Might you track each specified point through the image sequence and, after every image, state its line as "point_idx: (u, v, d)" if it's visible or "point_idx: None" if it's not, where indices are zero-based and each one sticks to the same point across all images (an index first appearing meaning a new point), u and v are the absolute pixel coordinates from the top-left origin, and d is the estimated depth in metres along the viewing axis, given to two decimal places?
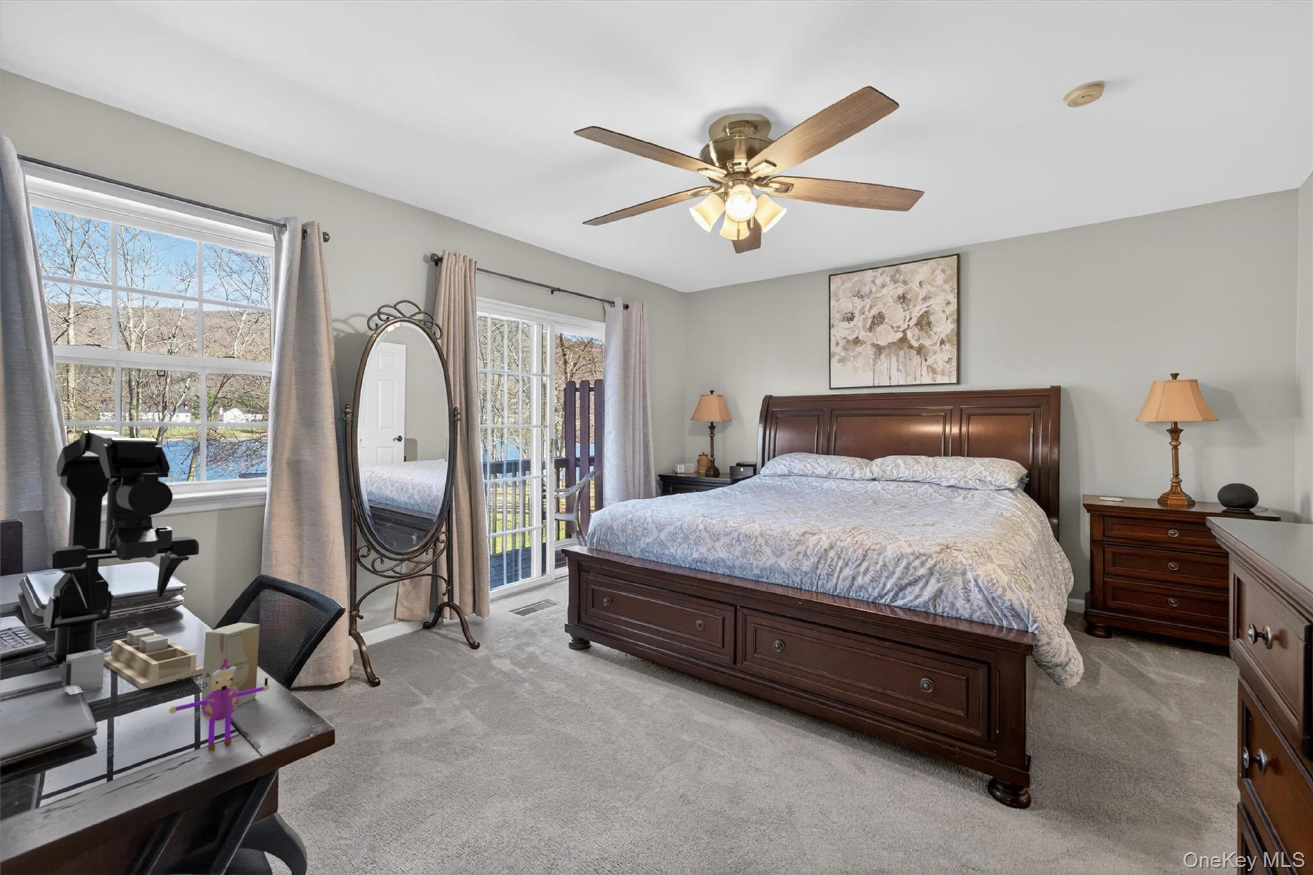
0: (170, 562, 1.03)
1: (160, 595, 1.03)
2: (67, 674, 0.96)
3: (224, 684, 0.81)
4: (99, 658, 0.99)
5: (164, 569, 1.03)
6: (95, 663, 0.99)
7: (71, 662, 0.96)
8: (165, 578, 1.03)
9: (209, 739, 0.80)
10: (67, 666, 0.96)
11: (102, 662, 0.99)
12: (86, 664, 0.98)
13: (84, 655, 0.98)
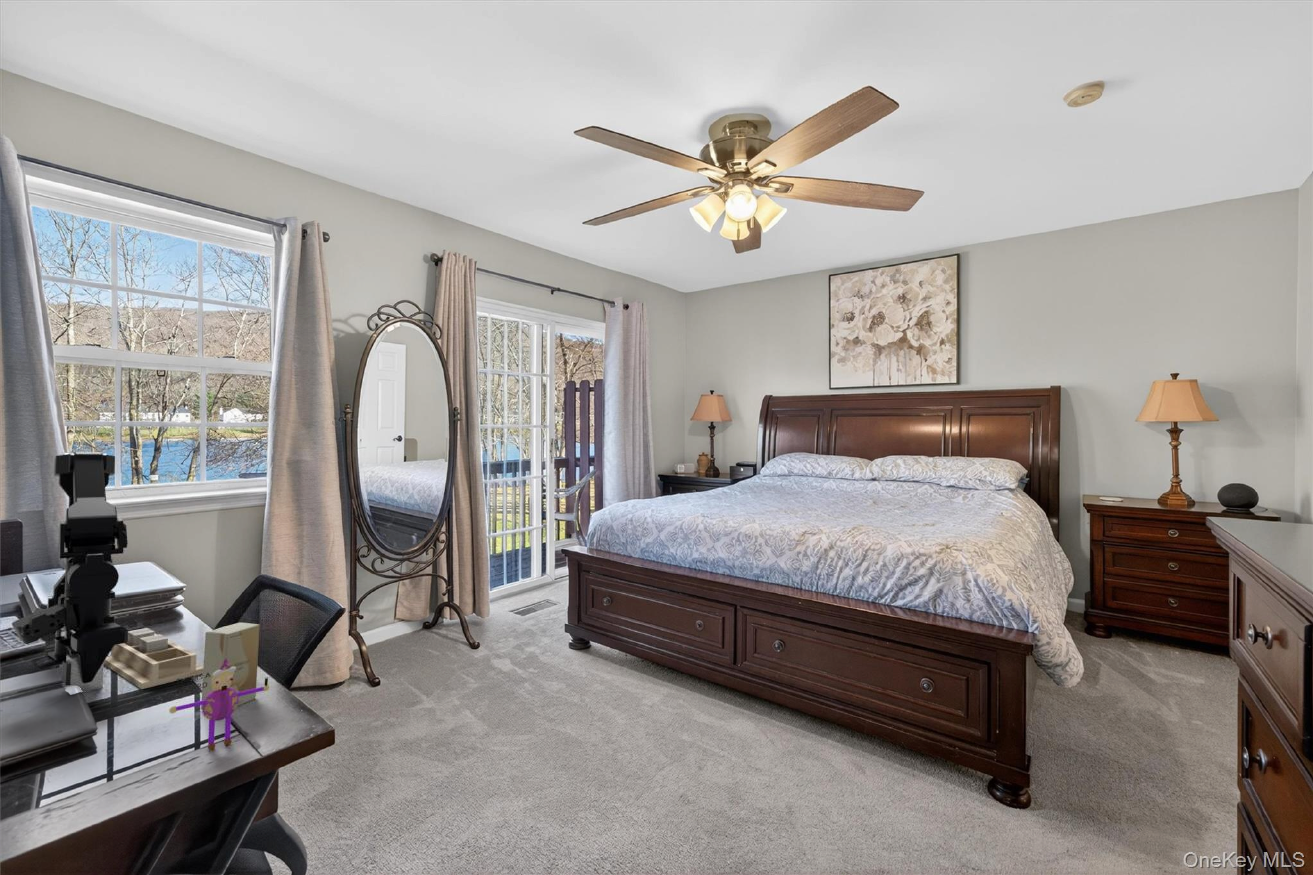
0: None
1: (82, 681, 0.97)
2: (67, 674, 0.96)
3: (224, 684, 0.81)
4: None
5: None
6: None
7: (71, 662, 0.96)
8: (79, 664, 0.97)
9: (209, 739, 0.80)
10: (67, 666, 0.96)
11: None
12: None
13: None
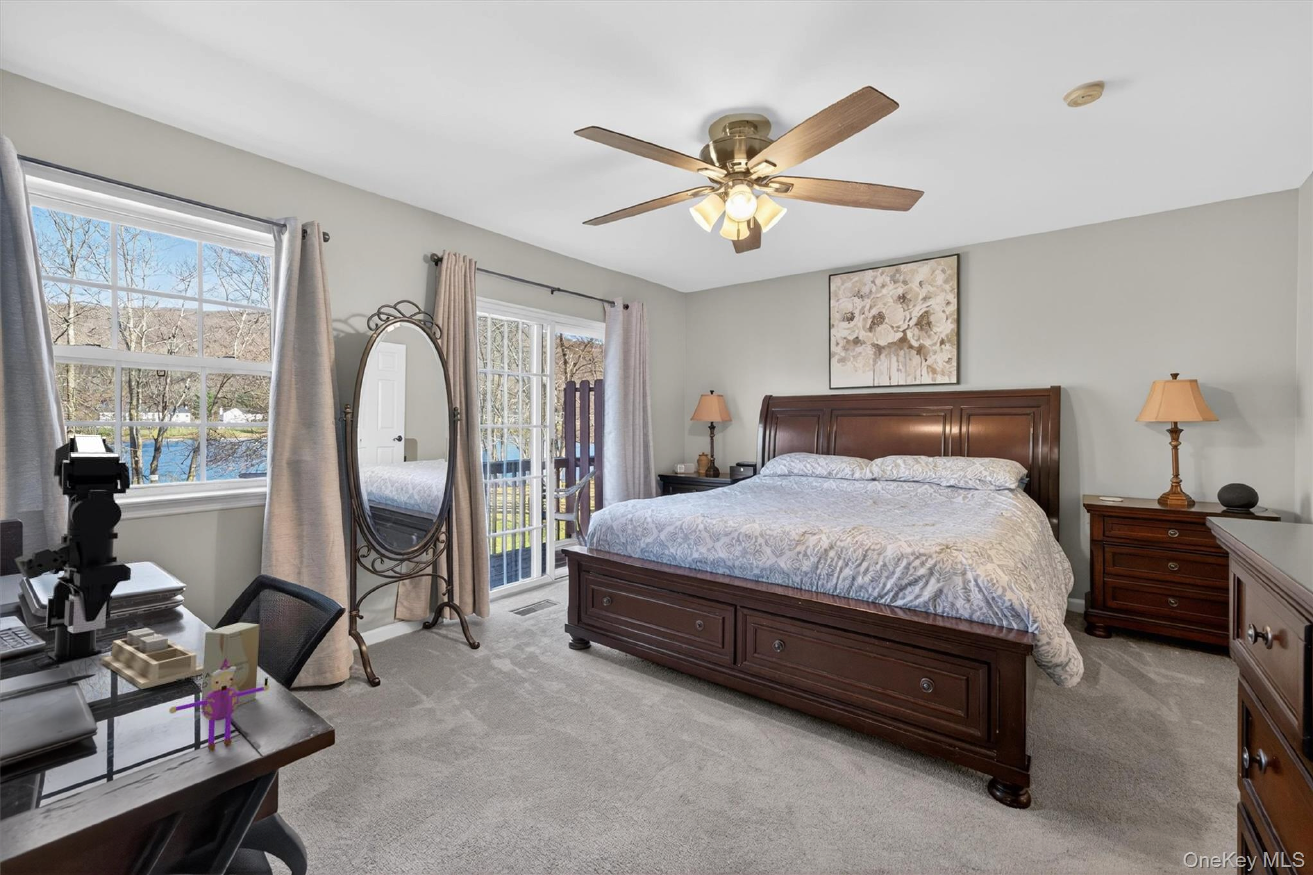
0: None
1: (85, 619, 0.97)
2: (70, 612, 0.96)
3: (224, 684, 0.81)
4: None
5: None
6: None
7: (74, 600, 0.97)
8: (82, 602, 0.97)
9: (209, 739, 0.80)
10: (70, 604, 0.96)
11: None
12: None
13: None
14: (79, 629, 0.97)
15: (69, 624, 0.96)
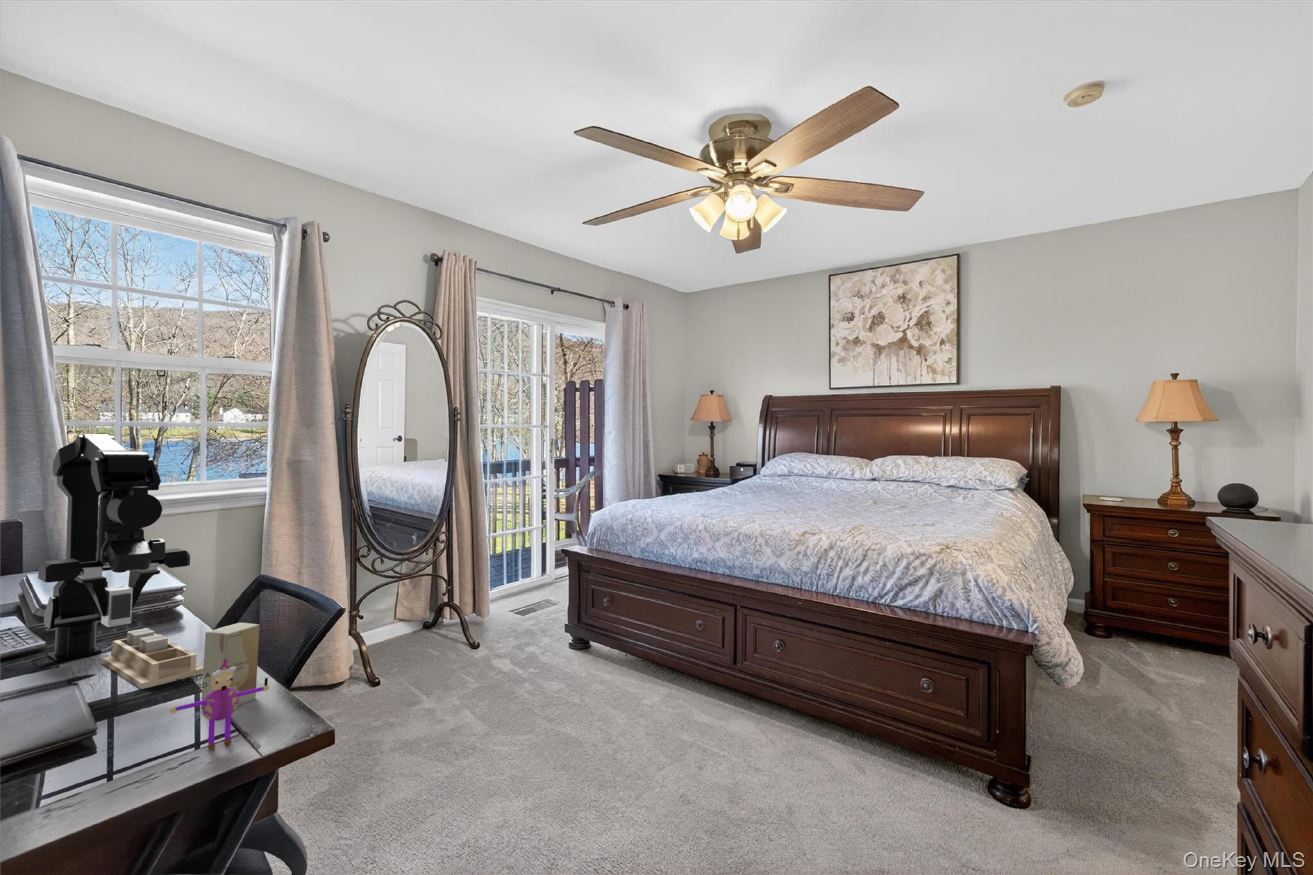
0: (140, 576, 1.02)
1: None
2: (130, 603, 1.01)
3: (224, 684, 0.81)
4: None
5: (134, 583, 1.02)
6: None
7: (131, 592, 1.01)
8: (135, 592, 1.02)
9: (209, 739, 0.80)
10: (131, 595, 1.01)
11: None
12: None
13: (125, 587, 1.02)
14: None
15: (129, 615, 1.01)
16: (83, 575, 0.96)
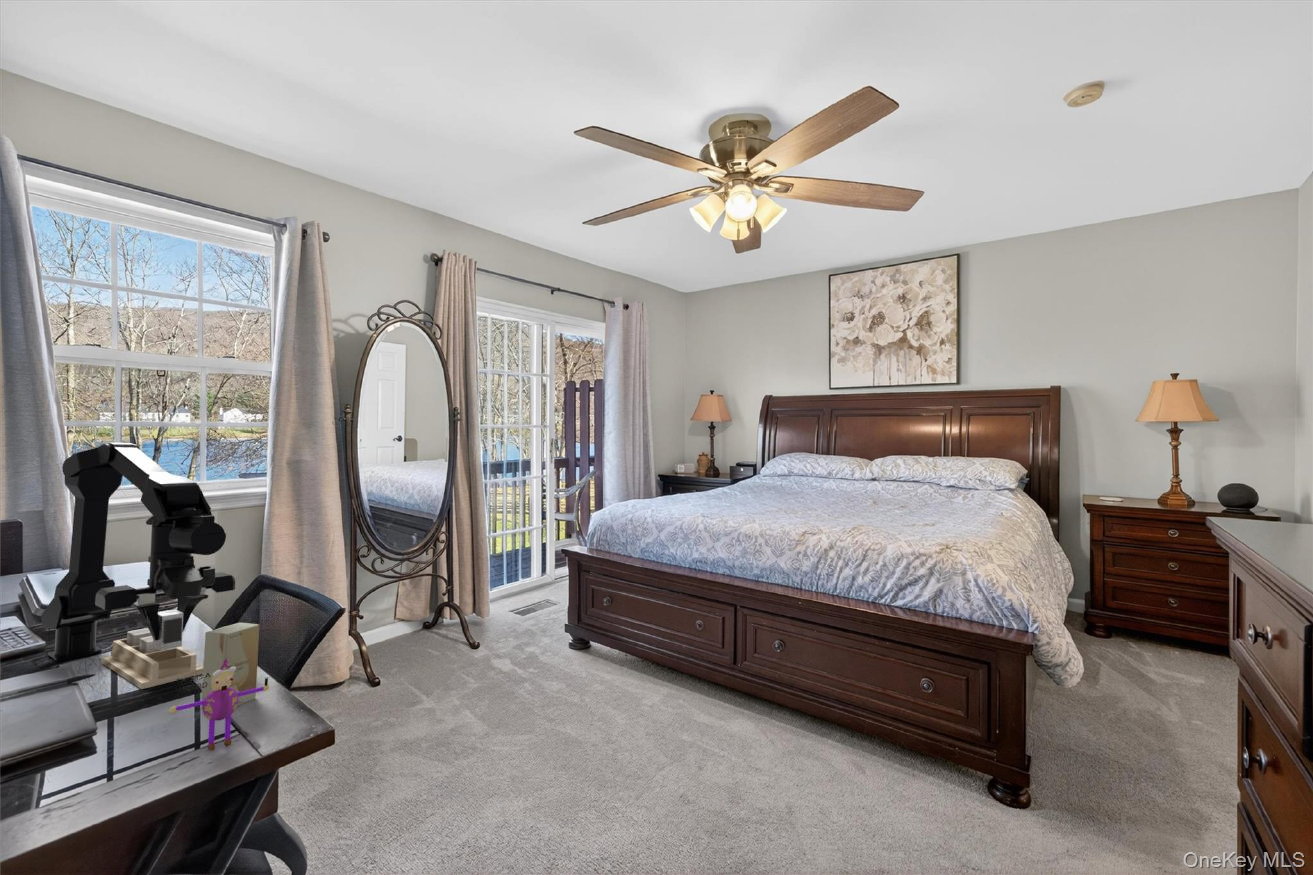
0: (190, 601, 1.06)
1: None
2: (181, 627, 1.05)
3: (224, 684, 0.81)
4: None
5: (184, 608, 1.06)
6: None
7: (181, 616, 1.05)
8: (185, 617, 1.06)
9: (209, 739, 0.80)
10: (181, 620, 1.05)
11: None
12: None
13: (175, 612, 1.06)
14: None
15: (181, 638, 1.05)
16: (138, 601, 1.00)
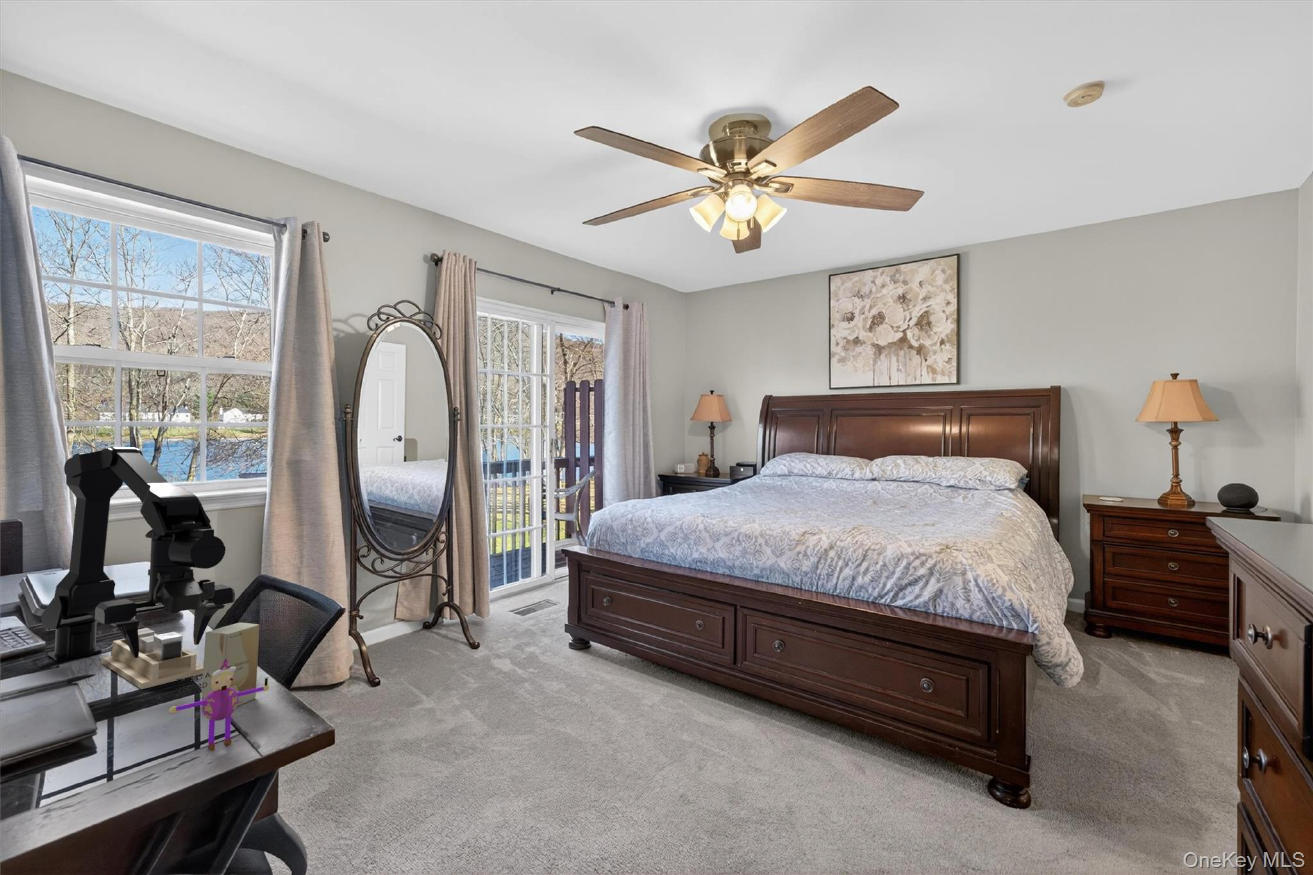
0: (207, 611, 1.08)
1: (197, 643, 1.08)
2: (181, 650, 1.05)
3: (224, 684, 0.81)
4: None
5: (201, 618, 1.08)
6: None
7: (181, 639, 1.05)
8: (202, 626, 1.08)
9: (209, 739, 0.80)
10: (181, 643, 1.05)
11: None
12: None
13: (175, 634, 1.06)
14: None
15: None
16: None
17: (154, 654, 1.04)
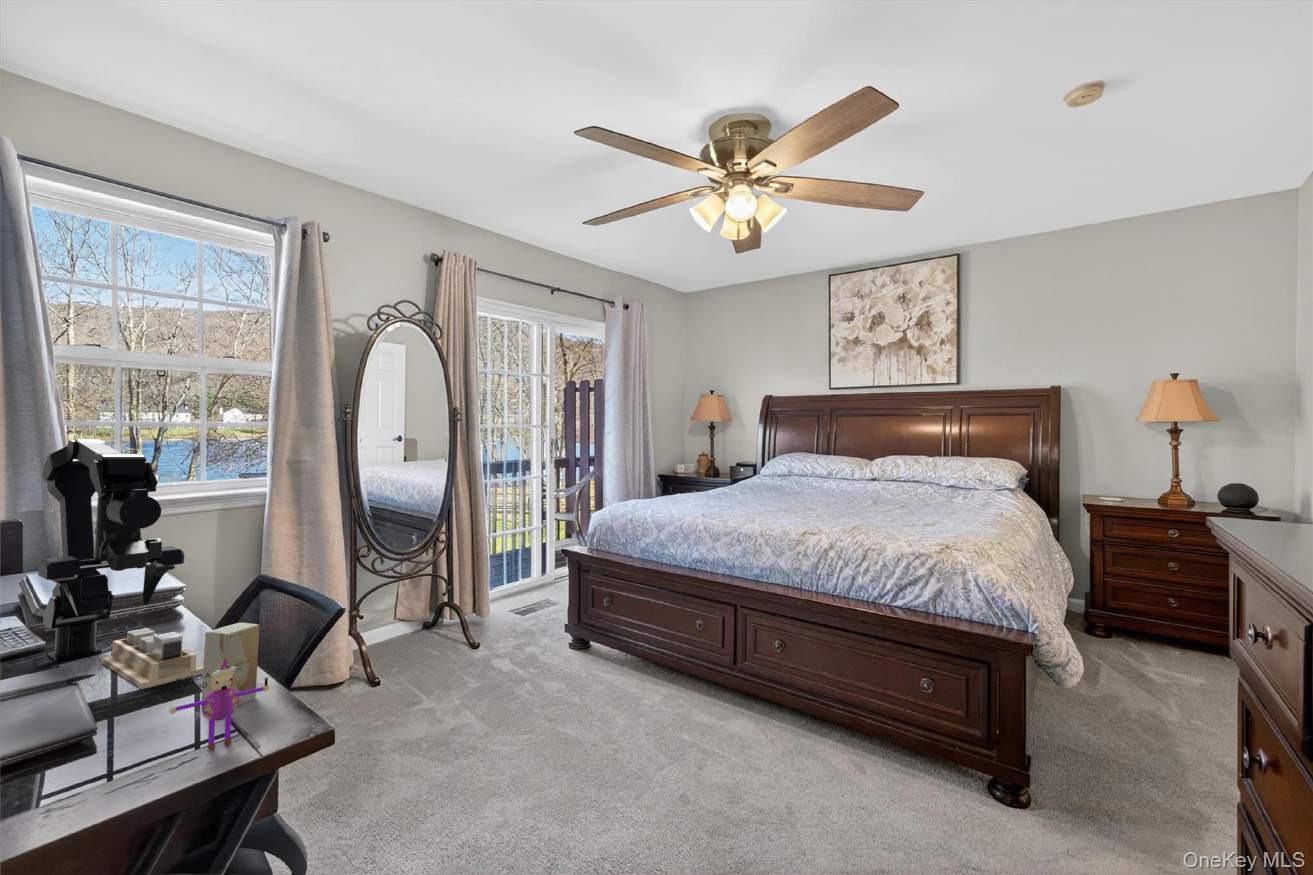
0: (157, 571, 1.09)
1: (146, 602, 1.09)
2: (181, 650, 1.05)
3: (224, 684, 0.81)
4: None
5: (150, 578, 1.09)
6: None
7: (181, 639, 1.05)
8: (151, 586, 1.09)
9: (209, 739, 0.80)
10: (181, 643, 1.05)
11: None
12: None
13: (175, 634, 1.06)
14: None
15: None
16: None
17: (154, 654, 1.04)
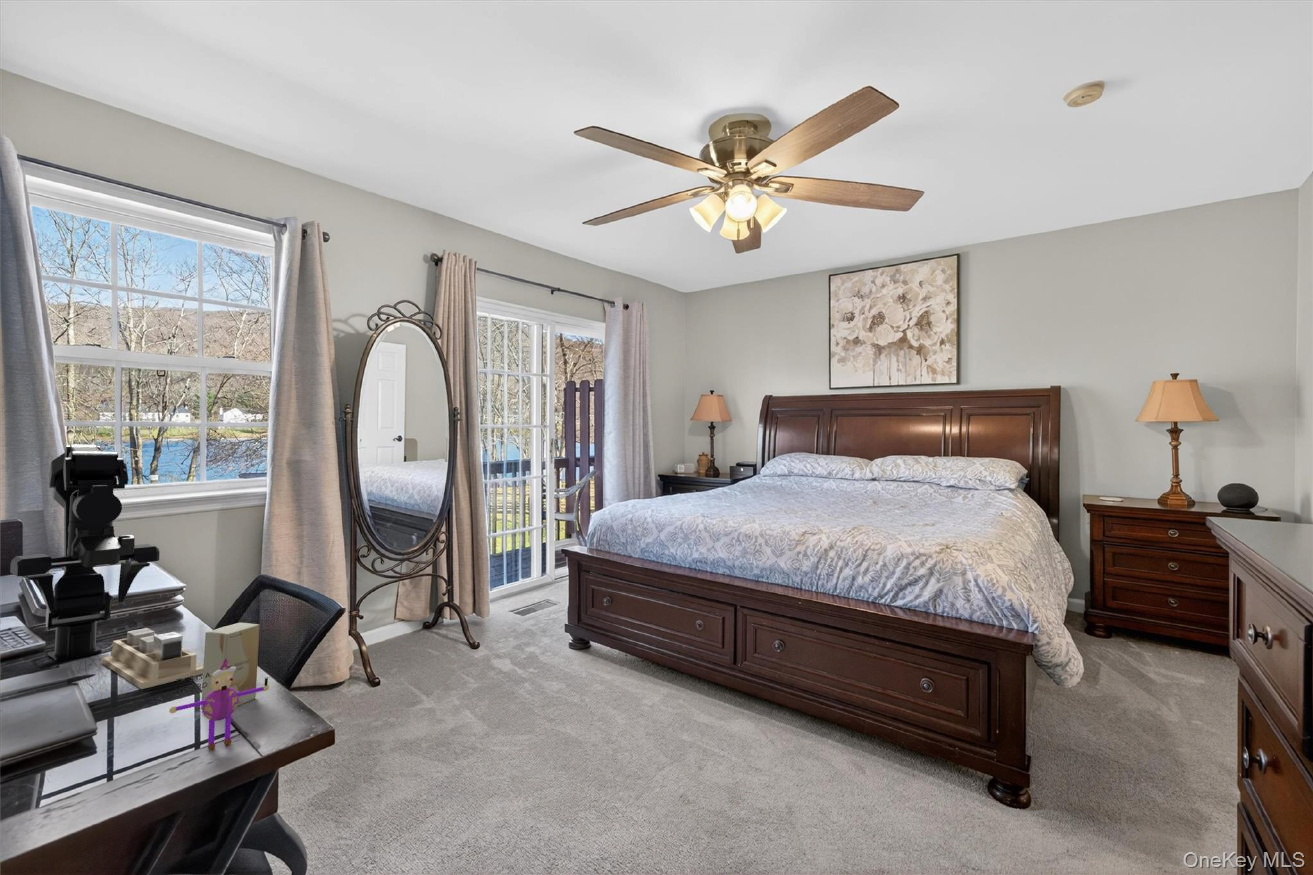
0: (131, 568, 1.09)
1: (121, 600, 1.09)
2: (181, 650, 1.05)
3: (224, 684, 0.81)
4: None
5: (125, 575, 1.09)
6: None
7: (181, 639, 1.05)
8: (126, 583, 1.09)
9: (209, 739, 0.80)
10: (181, 643, 1.05)
11: None
12: None
13: (175, 634, 1.06)
14: None
15: None
16: None
17: (154, 654, 1.04)
